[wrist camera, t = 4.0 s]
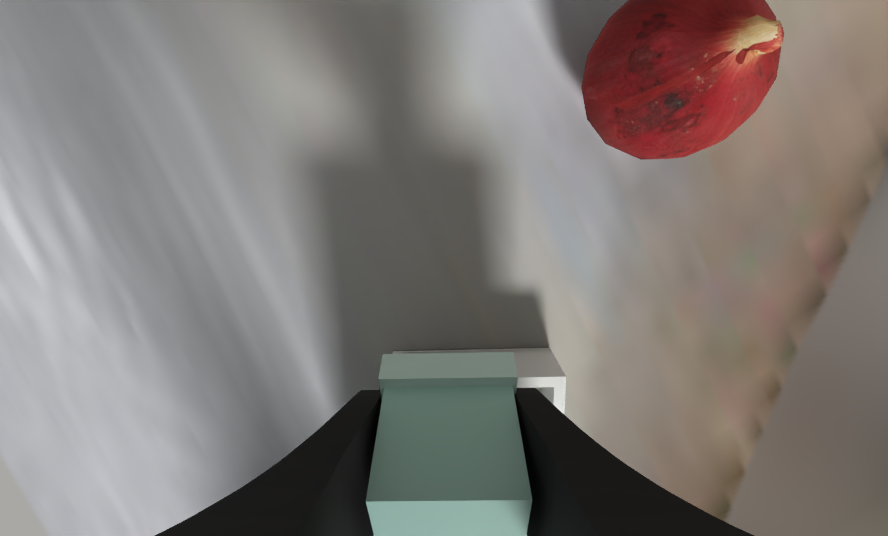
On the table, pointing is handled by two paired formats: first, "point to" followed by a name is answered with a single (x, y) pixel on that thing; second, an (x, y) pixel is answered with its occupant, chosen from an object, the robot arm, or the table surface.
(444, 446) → the lid
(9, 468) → the table surface
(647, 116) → the onion
